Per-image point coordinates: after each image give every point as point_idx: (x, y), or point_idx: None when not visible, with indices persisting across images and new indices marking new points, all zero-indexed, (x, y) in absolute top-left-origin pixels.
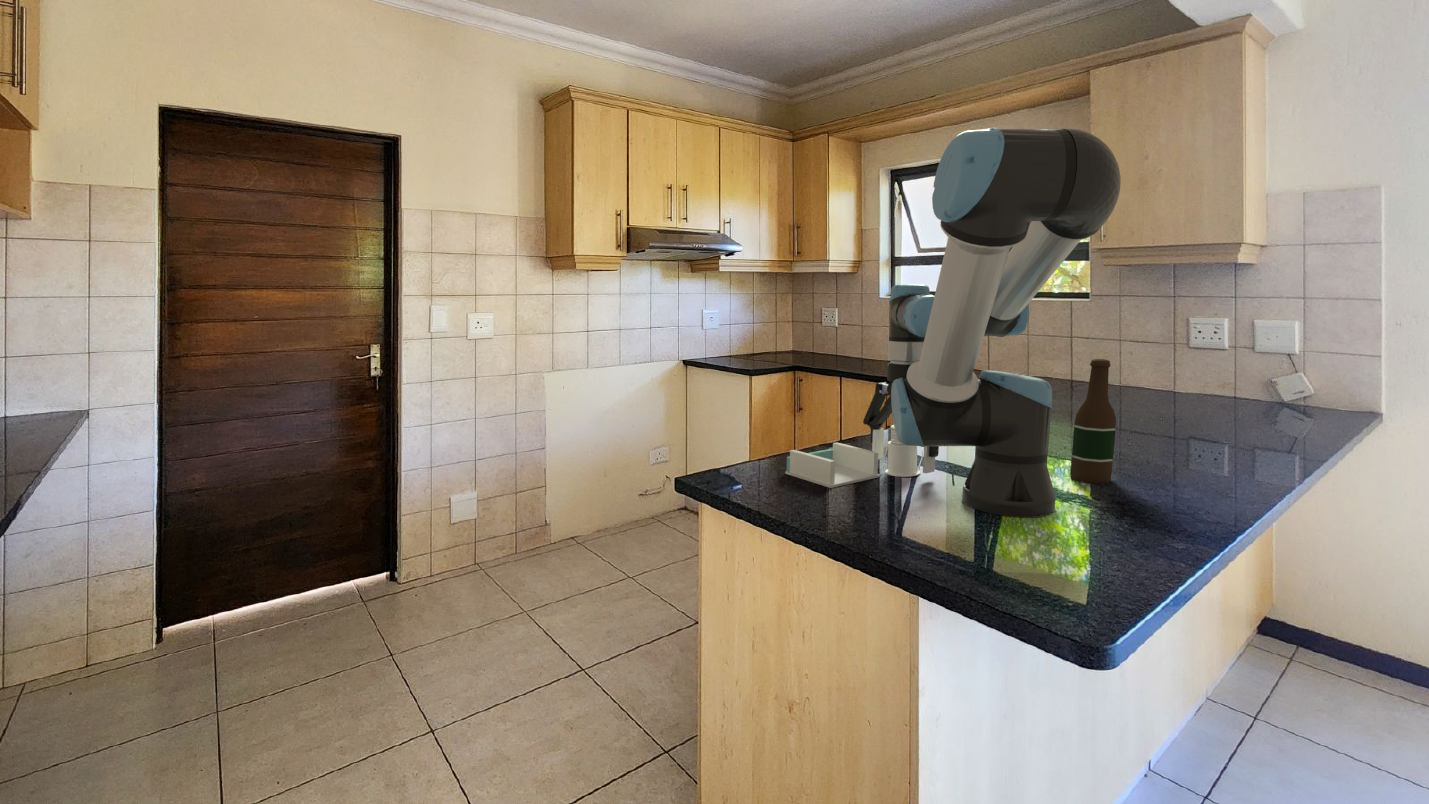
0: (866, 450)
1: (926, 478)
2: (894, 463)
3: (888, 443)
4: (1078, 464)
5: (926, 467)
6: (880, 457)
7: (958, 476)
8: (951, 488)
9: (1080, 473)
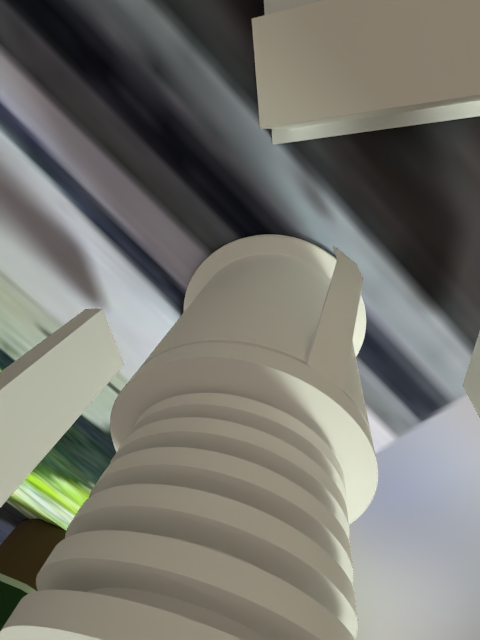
0: (477, 33)
1: (152, 332)
2: (241, 279)
3: (302, 380)
4: (16, 560)
5: (64, 327)
6: (474, 373)
7: None
8: (6, 293)
9: (25, 538)
